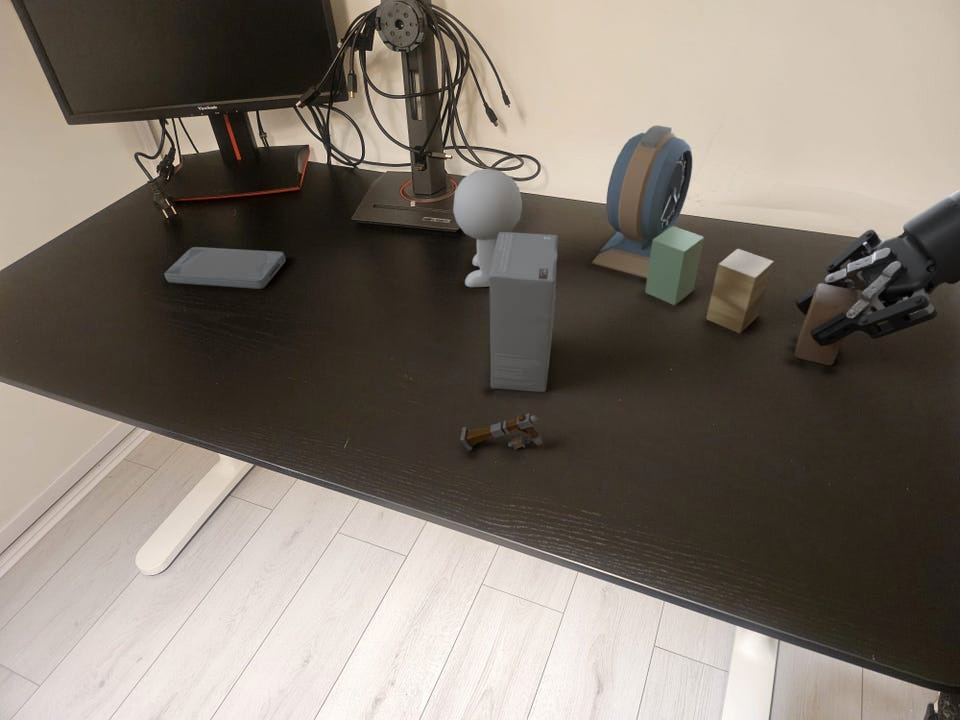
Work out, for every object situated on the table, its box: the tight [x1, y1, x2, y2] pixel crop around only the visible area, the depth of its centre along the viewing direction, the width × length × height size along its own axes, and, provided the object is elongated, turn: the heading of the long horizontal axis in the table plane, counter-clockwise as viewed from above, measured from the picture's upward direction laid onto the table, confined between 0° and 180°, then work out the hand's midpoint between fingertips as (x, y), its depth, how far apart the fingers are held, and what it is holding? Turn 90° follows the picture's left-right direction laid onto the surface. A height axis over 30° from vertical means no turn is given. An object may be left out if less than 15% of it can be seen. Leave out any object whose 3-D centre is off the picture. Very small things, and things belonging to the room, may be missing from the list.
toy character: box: [452, 168, 523, 288], centre depth 82 cm, size 9×9×15 cm
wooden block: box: [794, 283, 859, 366], centre depth 67 cm, size 4×4×8 cm
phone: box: [163, 246, 287, 290], centre depth 91 cm, size 8×16×1 cm, turn 78°
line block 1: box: [644, 225, 705, 306], centre depth 78 cm, size 4×4×8 cm
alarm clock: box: [591, 125, 693, 279], centre depth 83 cm, size 14×10×18 cm
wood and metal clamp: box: [460, 413, 544, 452], centre depth 61 cm, size 2×8×4 cm, turn 84°
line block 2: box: [705, 248, 775, 334], centre depth 73 cm, size 4×4×8 cm
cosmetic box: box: [489, 231, 559, 393], centre depth 66 cm, size 8×7×16 cm
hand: (808, 323), depth 68 cm, fingers closed on wooden block, 5 cm apart
